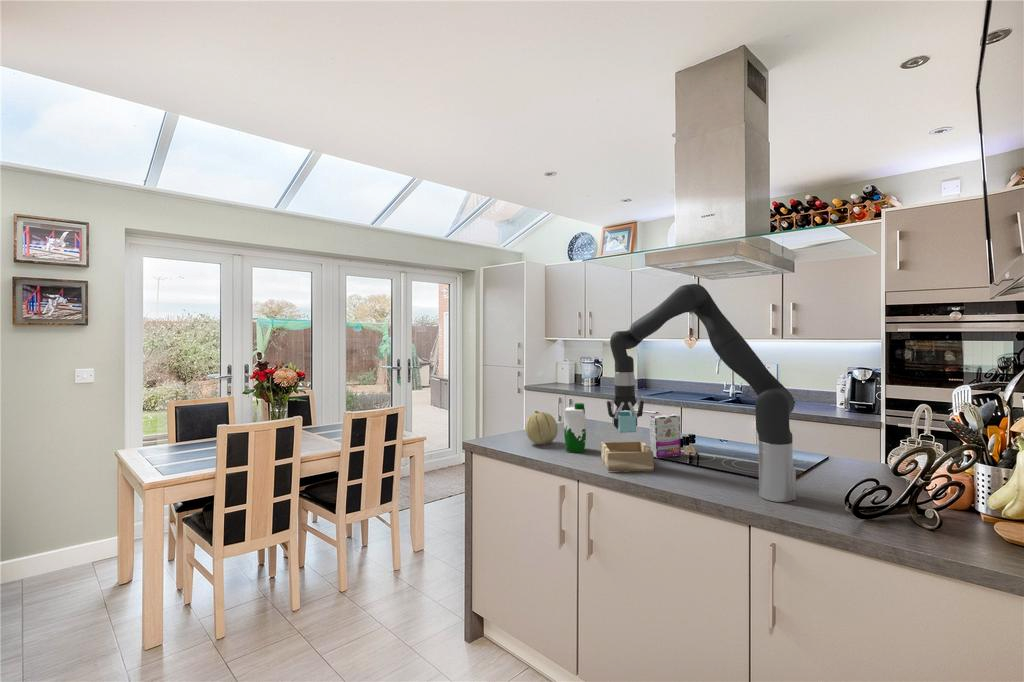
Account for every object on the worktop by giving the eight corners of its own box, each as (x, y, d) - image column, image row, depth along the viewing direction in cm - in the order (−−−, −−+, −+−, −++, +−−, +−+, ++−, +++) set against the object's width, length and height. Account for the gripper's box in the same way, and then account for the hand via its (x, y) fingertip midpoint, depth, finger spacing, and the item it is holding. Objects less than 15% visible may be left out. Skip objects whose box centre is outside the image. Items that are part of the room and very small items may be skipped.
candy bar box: (674, 453, 212) (673, 413, 211) (681, 456, 207) (680, 415, 206) (649, 455, 209) (649, 415, 208) (656, 458, 204) (655, 417, 203)
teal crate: (615, 427, 201) (614, 411, 200) (630, 426, 201) (630, 411, 200) (619, 432, 191) (619, 416, 190) (636, 432, 191) (635, 416, 190)
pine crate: (601, 459, 205) (600, 442, 205) (642, 458, 205) (642, 441, 204) (608, 472, 188) (607, 453, 187) (653, 471, 187) (653, 452, 187)
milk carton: (585, 453, 215) (584, 405, 215) (563, 452, 217) (562, 405, 217) (586, 448, 224) (585, 402, 223) (566, 447, 226) (564, 402, 225)
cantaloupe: (551, 449, 223) (550, 415, 223) (520, 447, 230) (519, 413, 229) (562, 441, 237) (562, 409, 236) (533, 439, 243) (532, 408, 242)
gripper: (607, 385, 191) (608, 430, 192) (646, 384, 191) (646, 429, 192) (604, 382, 199) (604, 426, 200) (641, 382, 198) (642, 425, 199)
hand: (625, 427), depth 196 cm, fingers closed on teal crate, 6 cm apart
